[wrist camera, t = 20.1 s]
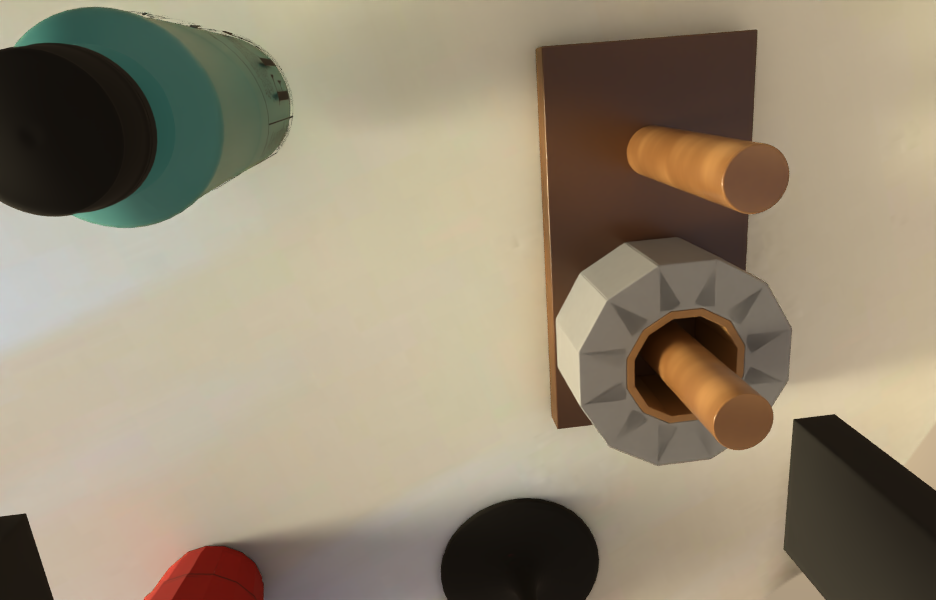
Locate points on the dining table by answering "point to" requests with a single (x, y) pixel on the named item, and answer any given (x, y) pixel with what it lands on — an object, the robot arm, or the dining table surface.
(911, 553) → the robot arm
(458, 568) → the wine glass
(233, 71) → the beverage bottle
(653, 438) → the duct tape
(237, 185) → the dining table surface
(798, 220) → the dining table surface
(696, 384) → the peg rack
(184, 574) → the plastic cup
